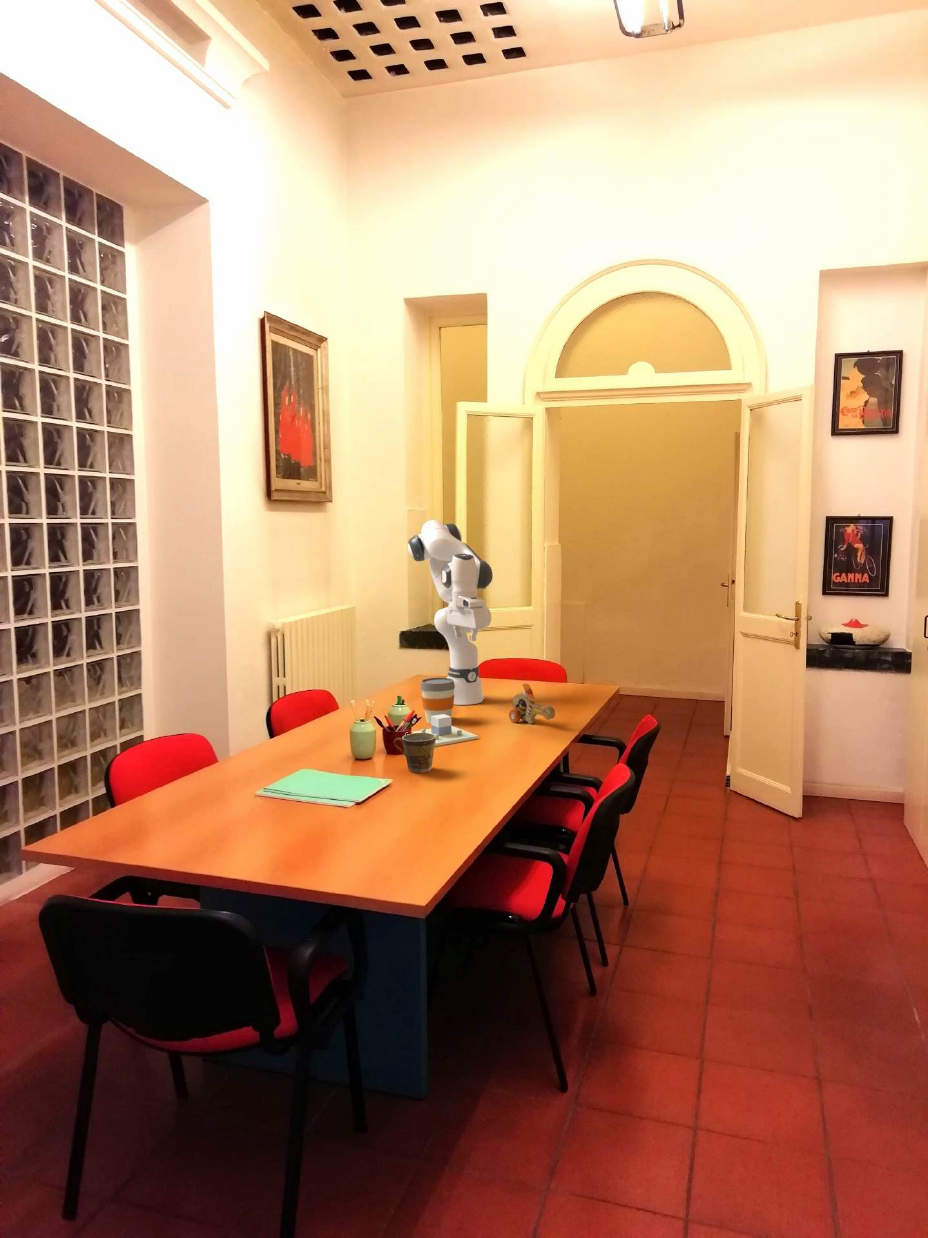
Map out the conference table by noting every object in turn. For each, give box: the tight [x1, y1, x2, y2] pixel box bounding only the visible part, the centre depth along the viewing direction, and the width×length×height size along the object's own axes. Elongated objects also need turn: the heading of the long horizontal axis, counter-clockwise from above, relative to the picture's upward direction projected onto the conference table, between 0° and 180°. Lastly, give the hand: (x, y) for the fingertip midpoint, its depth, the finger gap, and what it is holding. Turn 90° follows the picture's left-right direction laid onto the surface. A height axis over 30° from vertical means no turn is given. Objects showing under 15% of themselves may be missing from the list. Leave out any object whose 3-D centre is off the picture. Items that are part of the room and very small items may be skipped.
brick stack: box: [430, 714, 452, 736], centre depth 297 cm, size 5×5×6 cm
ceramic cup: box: [393, 733, 436, 774], centre depth 260 cm, size 13×10×10 cm
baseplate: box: [412, 725, 479, 747], centre depth 297 cm, size 18×18×2 cm
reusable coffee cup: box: [420, 677, 455, 724], centre depth 320 cm, size 12×13×15 cm
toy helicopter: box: [508, 683, 556, 725], centre depth 311 cm, size 8×21×14 cm, turn 37°
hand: (465, 639), depth 309 cm, fingers open, 8 cm apart
